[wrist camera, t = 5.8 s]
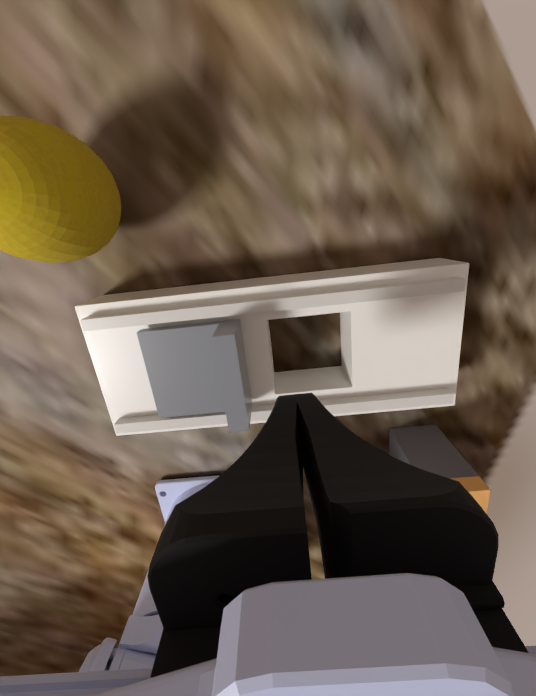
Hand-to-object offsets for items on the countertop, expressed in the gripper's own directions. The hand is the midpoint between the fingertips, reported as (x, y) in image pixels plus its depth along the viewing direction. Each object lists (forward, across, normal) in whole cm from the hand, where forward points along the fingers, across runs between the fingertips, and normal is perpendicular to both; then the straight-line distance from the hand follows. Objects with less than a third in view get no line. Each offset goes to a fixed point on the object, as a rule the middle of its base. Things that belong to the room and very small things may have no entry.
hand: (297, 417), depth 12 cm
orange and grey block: (+9, -8, +9) cm, 15 cm away
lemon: (+9, +10, -9) cm, 16 cm away
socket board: (+9, +1, 0) cm, 9 cm away
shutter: (+6, +5, 0) cm, 8 cm away
